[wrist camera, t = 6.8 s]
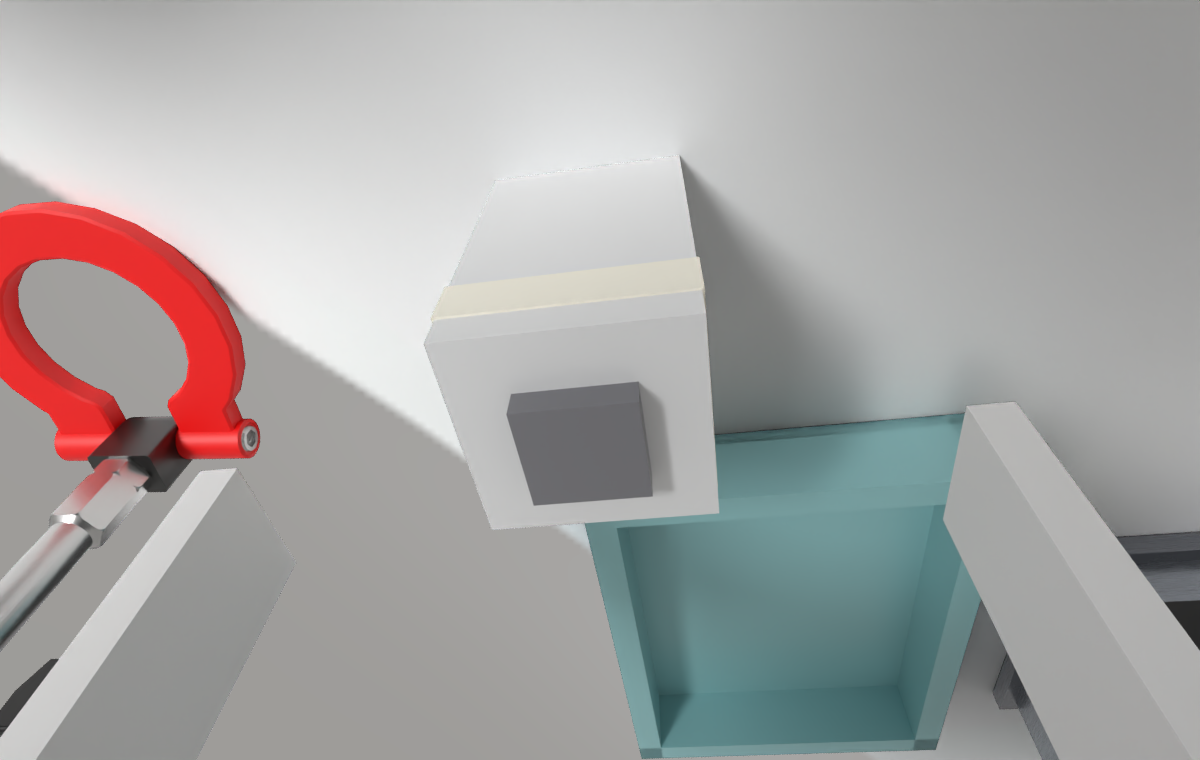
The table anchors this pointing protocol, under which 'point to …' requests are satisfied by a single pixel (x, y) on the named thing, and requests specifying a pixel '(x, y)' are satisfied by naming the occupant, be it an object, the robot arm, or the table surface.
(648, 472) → the white tall square block
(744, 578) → the parts tray
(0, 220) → the tow hook
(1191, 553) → the controller unit
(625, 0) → the table surface
